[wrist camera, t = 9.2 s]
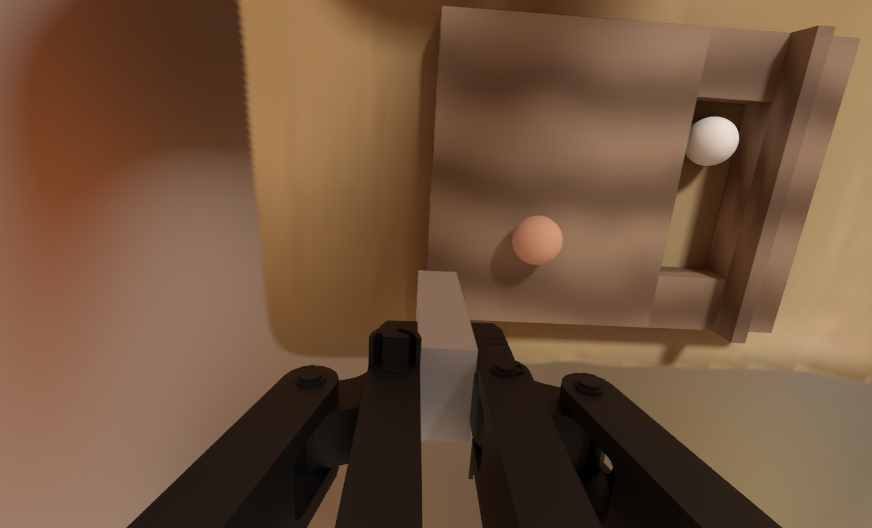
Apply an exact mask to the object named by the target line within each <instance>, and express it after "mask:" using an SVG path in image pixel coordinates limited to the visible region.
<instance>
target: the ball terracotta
mask: <svg viewBox="0 0 872 528" xmlns="http://www.w3.org/2000/svg"><path fill="white" fill-rule="evenodd" d="M512 243H513V248H514V251H515V252H516V254H517V256H518V257H519V258H520V259H522V260H523V261H524V262H526V263H529V264H532V265H542V264H546V263H548V262H550V261H552V260H553V259H554V258H555V257H556V256H557V255H558V254H559V252H560V250H561V248H562V244H563V236H562V232H561V230H560V228H559V226H558V225H557V224H556V223H555V222H554V221H553V220H551V219H550V218H547V217H544V216H531V217H528V218H526V219H524V220H523V221H522V222H520V223H519V224H518V226H517V227H516V229H515V231H514V233H513V238H512Z"/></svg>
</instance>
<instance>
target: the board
mask: <svg viewBox="0 0 872 528" xmlns="http://www.w3.org/2000/svg"><path fill="white" fill-rule="evenodd" d="M834 30H835V27H830V26H815V27H812V28H808V29H804V30H800V31H796V32H793V33H786V32H773V31H760V30H747V29H735V28H722V27H709V26H696V25H684V24H671V23H658V22H645V21H633V20H620V19H607V18H594V17H582V16H569V15H556V14H543V13H531V12H518V11H505V10H492V9H480V8H467V7H454V6H442V10H441V15H440V31H439V49H438V66H437V84H436V101H435V119H434V136H433V153H432V171H431V188H430V206H429V223H428V241H427V258H426V271H443V272H457V276H458V279H459V283H460V287H461V290H462V294H463V298H464V301H465V305H466V309H467V312H468V316H469V319H470V320H482V321H506V322H529V323H553V324H577V325H600V326H624V327H648V328H671V329H695V330H714V331H715V332H716V333H718V334H719V335H721V336H722V337H724V338H725V339H727V340H728V341H730V342H731V343H745V341H746V338H747V334H748V332H766V333H771V332H772V329H773V325H774V322H775V319H776V315H777V312H778V309H779V306H780V302H781V299H782V296H783V292H784V289H785V286H786V282H787V279H788V276H789V272H790V269H791V266H792V263H793V259H794V256H795V253H796V249H797V246H798V243H799V239H800V236H801V233H802V230H803V226H804V223H805V220H806V216H807V213H808V210H809V206H810V203H811V200H812V197H813V193H814V190H815V187H816V183H817V180H818V177H819V173H820V170H821V167H822V164H823V160H824V157H825V154H826V150H827V147H828V144H829V140H830V137H831V134H832V130H833V127H834V124H835V121H836V117H837V114H838V111H839V107H840V104H841V101H842V97H843V94H844V91H845V88H846V84H847V81H848V78H849V74H850V71H851V68H852V64H853V61H854V58H855V55H856V51H857V48H858V45H859V41H860V38H849V37H837V36H833V34H834ZM696 101H708V102H723V103H737V104H745V108H744V112H743V116H742V121H741V125H740V129H739V143H738V146H737V148H736V150H735V152H734V153H733V157H732V161H731V165H730V169H729V174H728V178H727V182H726V186H725V190H724V194H723V198H722V202H721V206H720V210H719V214H718V218H717V222H716V227H715V231H714V235H713V239H712V243H711V247H710V251H709V255H708V259H707V263H706V267H705V269H697V268H677V267H661V263H662V259H663V254H664V249H665V245H666V240H667V235H668V231H669V226H670V221H671V217H672V212H673V207H674V203H675V198H676V194H677V189H678V184H679V180H680V175H681V170H682V166H683V161H684V156H685V152H686V147H687V142H688V138H689V133H690V128H691V124H692V119H693V115H694V110H695V105H696ZM531 216H544V217H547V218H550V219H551V220H553V221H554V222H555V223H556V224H557V225H558V226H559V228H560V230H561V232H562V236H563V244H562V248H561V250H560V252H559V254H558V255H557V256H556V257H555V258H554V259H553V260H552V261H550V262H548V263H546V264H542V265H532V264H529V263H526V262H524V261H523V260H522V259H520V258H519V257H518V256H517V254H516V252H515V251H514V248H513V243H512V238H513V233H514V231H515V229H516V227H517V226H518V224H519V223H520V222H522V221H523V220H524V219H526V218H528V217H531Z"/></svg>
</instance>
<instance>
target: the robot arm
mask: <svg viewBox="0 0 872 528" xmlns="http://www.w3.org/2000/svg"><path fill="white" fill-rule="evenodd" d="M338 379H339V378H338V375H337V373H336V372H335V371H333V370H332V369H330V368H327V367H323V366H315V365H309V366H303V367H300V368H297V369H295V370H292V371H290V372H289V373H287V374H286V375H284V376H283V377H282V378H281V379H280V380H279V381H278V382H277V383H276V384H275V385H274V386H273V387H272V388H271V389H270V390H269V391H268V392H267V393H266V394H265V395H264V396H263V397H262V398H261V399H260V400H259V401H257V402H256V404H254V405H253V406H252V407H251V408H250V409H249V410H248V411H247V412H246V413H245V414H244V415H243V416H242V417H241V418H240V419H239V420H238V421H237V422H236V423H235V424H234V425H233V426H232V427H230V428H229V429H228V430H227V431H226V432H225V433H224V434H223V435H222V436H221V437H220V438H219V439H218V440H217V441H216V442H215V443H214V444H213V445H212V446H211V447H210V448H209V449H208V450H207V451H206V452H205V453H204V454H202V455H201V456H200V457H199V458H198V459H197V460H196V461H195V462H194V463H193V464H192V465H191V466H190V467H189V468H188V469H187V470H186V471H185V472H184V473H183V474H182V475H181V476H180V477H179V478H178V479H177V480H176V481H174V483H172V484H171V485H170V486H169V487H168V488H167V489H166V490H165V491H164V492H163V493H162V494H161V495H160V496H159V497H158V498H157V499H156V500H155V501H154V502H153V503H152V504H151V505H150V506H149V507H147V508H146V510H145V511H143V512H142V513H141V514H140V515H139V516H138V517H137V518H136V519H135V520H134V521H133V522H132V523H131V524H130V525H129V526H128V527H127V528H307V527H308V525H309V523H310V521H311V520H312V518H313V516H314V514H315V512H316V511H317V509H318V507H319V506H320V504H321V502H322V500H323V499H324V497H325V495H326V493H327V492H328V490H329V488H330V486H331V485H332V483H333V481H334V479H335V477H336V476H337V472H338V469H339V466H340V465H344V464H348V467H347V472H346V477H345V482H344V486H343V491H342V496H341V501H340V506H339V511H338V515H337V520H336V525H335V528H422V471H421V470H422V469H421V441H456V442H469V439H470V428H471V430H472V436H473V439H472V449H471V459H470V470H469V479H473V475H474V476H475V483H476V489H477V495H478V501H479V508H480V514H481V520H482V526H483V528H782V527H781V526H780V525H778V524H777V523H776V522H775V521H774V520H772V519H771V518H770V517H769V516H768V515H766V514H765V513H764V512H763V511H762V510H760V509H759V508H758V507H757V506H756V505H755V504H753V503H752V502H751V501H750V500H748V499H747V498H746V497H745V496H744V495H743V494H741V493H740V492H739V491H738V490H736V489H735V488H734V487H733V486H732V485H731V484H730V483H728V482H727V481H726V480H725V479H724V478H722V477H721V476H720V475H719V474H717V473H716V472H715V471H714V470H713V469H712V468H711V467H709V466H708V465H707V464H706V463H705V462H703V461H702V460H701V459H700V458H699V457H697V456H696V455H695V454H694V453H693V452H692V451H690V450H689V449H688V448H687V447H686V446H684V445H683V444H682V443H681V442H680V441H678V440H677V439H676V438H675V437H674V436H672V435H671V434H670V433H669V432H668V431H666V430H665V429H664V428H663V427H662V426H661V425H659V424H658V423H657V422H656V421H655V420H653V419H652V418H651V417H650V416H649V415H648V414H646V413H645V412H644V411H643V410H641V409H640V408H639V407H638V406H637V405H636V404H634V403H633V402H632V401H631V400H630V399H629V398H627V397H626V396H625V395H623V393H621V392H620V391H619V390H618V389H617V388H615V387H614V386H613V385H612V384H610V383H609V382H607V381H606V380H604V379H602V378H599V377H597V376H595V375H592V374H588V373H573V374H569V375H566V376H565V377H564V378H562V383H561V387H556V386H552V385H547V384H543V383H539V382H537V381H534V380H533V377H532V375H531V373H530V371H529V370H528V368H527V367H526V366H525V365H523V364H521V363H520V362H518V361H515V359H514V357H513V354H512V352H511V350H510V347H509V346H508V343H507V340H506V339H505V336H504V333H503V331H502V330H501V329H500V328H498V327H497V326H496V325H495V324H492V323H470V319H469V316H468V312H467V309H466V305H465V301H464V298H463V294H462V290H461V287H460V283H459V279H458V276H457V272H443V271H421V270H418V288H417V308H416V322H413V321H388V320H387V321H386V322H385V323H384V324H382V325H381V326H380V328H379V329H377V330H375V331H373V332H372V333H371V334H370V336H369V366H368V371H367V372H366V373H364V374H363V375H360V376H358V377H355V378H351V379H346V380H338ZM605 454H606V455H607V457H608V458H609V459H610V461H611V463H612V466H613V469H612V471H611V470H610V469H609V468H608V467H607V466H606V465H605V463H604V459H605Z"/></svg>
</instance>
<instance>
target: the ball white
mask: <svg viewBox="0 0 872 528" xmlns="http://www.w3.org/2000/svg"><path fill="white" fill-rule="evenodd" d="M738 143H739V133H738V130H737V128H736V126H735V125H734V124H733V123H732V122H731V121H729V120H727V119H725V118H722V117H707V118H704V119H702V120H699V121H698V122H696V123H695V124H693V125H692V126H691V128H690V133H689V138H688V142H687V147H686V152H685V154H686V156H687V157H688V158H689V159H690V160H691V161H692V162H694V163H696V164H698V165H703V166H712V165H717V164H719V163H722V162H724V161H725V160H727V159H728V158H729V157H730V156H731V155H732V154H733V153H734V152H735V150H736V148H737V146H738Z"/></svg>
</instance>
